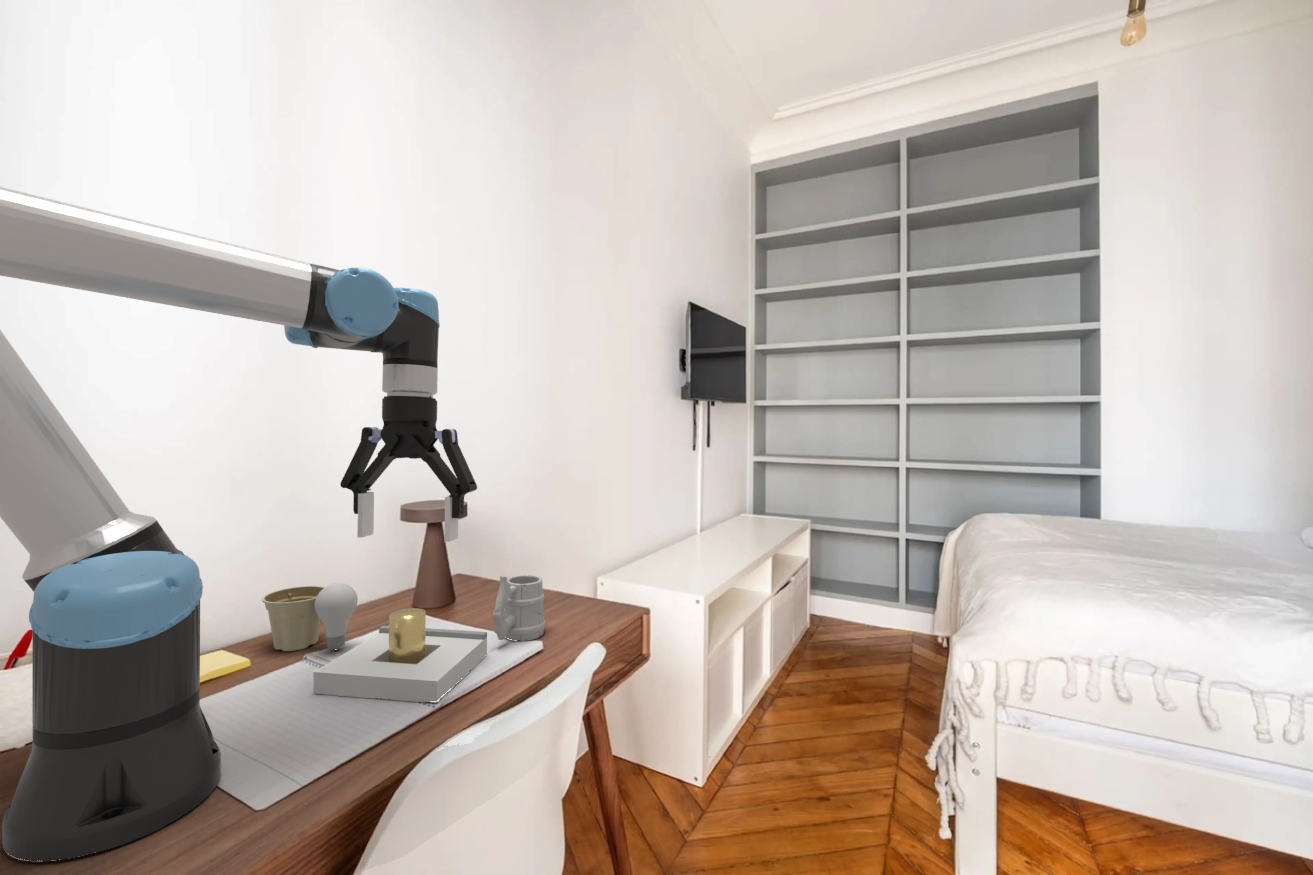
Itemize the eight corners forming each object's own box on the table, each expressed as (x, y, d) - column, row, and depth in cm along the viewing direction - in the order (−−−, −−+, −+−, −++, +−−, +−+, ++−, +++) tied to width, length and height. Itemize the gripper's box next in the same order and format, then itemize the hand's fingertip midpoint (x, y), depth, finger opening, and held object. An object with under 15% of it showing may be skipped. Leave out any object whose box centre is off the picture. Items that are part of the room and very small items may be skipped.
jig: (437, 703, 75) (437, 675, 75) (313, 693, 77) (313, 666, 77) (486, 655, 91) (487, 631, 90) (383, 647, 93) (383, 625, 93)
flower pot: (274, 661, 87) (274, 606, 87) (252, 646, 92) (253, 594, 92) (338, 643, 94) (338, 592, 94) (314, 630, 100) (315, 582, 100)
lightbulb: (337, 659, 88) (338, 590, 88) (304, 655, 89) (305, 587, 89) (365, 644, 94) (366, 579, 94) (334, 641, 95) (334, 577, 95)
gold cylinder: (413, 681, 81) (414, 620, 81) (381, 679, 81) (381, 618, 81) (431, 666, 86) (431, 609, 86) (400, 664, 86) (401, 607, 86)
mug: (553, 630, 102) (554, 565, 102) (513, 653, 91) (514, 581, 91) (519, 623, 105) (519, 560, 105) (476, 646, 94) (477, 575, 94)
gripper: (500, 398, 85) (498, 536, 85) (349, 396, 88) (347, 529, 88) (479, 395, 78) (476, 546, 78) (314, 392, 81) (312, 538, 81)
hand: (407, 538), depth 83 cm, fingers open, 13 cm apart
